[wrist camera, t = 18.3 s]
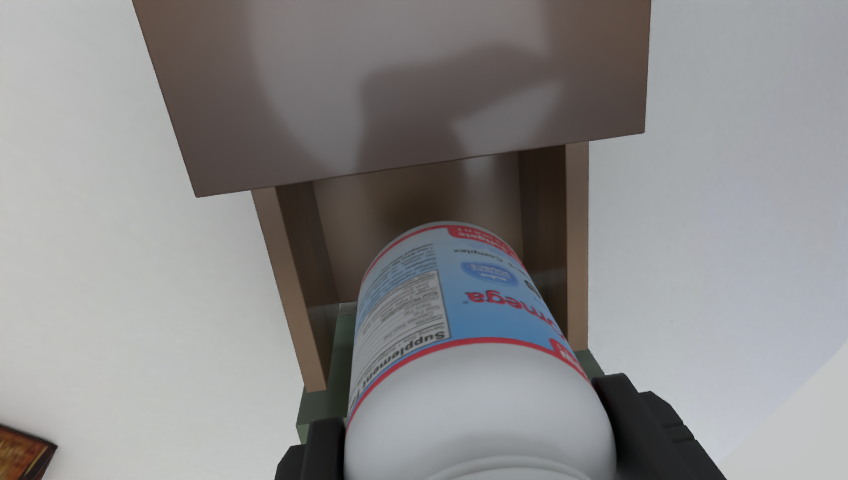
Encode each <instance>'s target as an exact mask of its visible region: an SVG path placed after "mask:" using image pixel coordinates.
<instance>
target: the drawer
mask: <svg viewBox="0 0 848 480" xmlns="http://www.w3.org/2000/svg"><path fill="white" fill-rule="evenodd" d="M588 182H589V141H587V142H580V143H573V144H566V145H559V146H552V147H545V148H538V149H531V150H524V151H517V152H510V153H504V154H497V155H490V156H483V157H476V158H469V159H462V160H455V161H448V162H441V163H434V164H428V165H421V166H414V167H407V168H400V169H393V170H386V171H379V172H372V173H365V174H358V175H352V176H345V177H338V178H331V179H324V180H317V181H310V182H303V183H296V184H289V185H282V186H275V187H269V188H262V189H255V190H251V193H252V196H253V200H254V204H255V207H256V211H257V215H258V218H259V222H260V225H261V229H262V233H263V236H264V240H265V243H266V247H267V251H268V254H269V258H270V262H271V265H272V269H273V272H274V276H275V280H276V283H277V287H278V291H279V294H280V298H281V301H282V305H283V309H284V312H285V316H286V320H287V323H288V327H289V330H290V334H291V338H292V341H293V345H294V348H295V352H296V356H297V359H298V363H299V367H300V370H301V374H302V377H303V381H304V389H303V394H302V398H301V403H300V408H299V413H298V418H297V423H296V428H297V432H298V435H299V438H300V442H301V444H306V441H307V435H308V430H309V424H310V422H311V420H315V419H322V418H328V417H335V416H342V417H343V420H344V423H345V427H346V424H347V413H348V404H349V394H350V383H351V372H352V359H353V348H354V336H355V326H356V315H357V313H355V314H348V315H342V316H337V315H338V308H339V303H345V302H352V301H358V297H359V292H360V287H361V283H362V280H363V277H364V275H365V273H366V271H367V269H368V268H369V266H370V264H371V263H372V261H373V260H374V259H375V257H376V256H377V255H378V254H379V253H380V252H381V250H382V249H383V248H384V247H385V246H387V245H388V244H389V243H390V242H391V241H393V240H394V239H395V238H397V237H398V236H400V235H401V234H403V233H404V232H406V231H408V230H410V229H412V228H415V227H417V226H420V225H423V224H426V223H431V222H436V221H459V222H466V223H470V224H474V225H477V226H480V227H482V228H485V229H487V230H489V231H491V232H492V233H494V234H496V235H497V236H498V237H500V238H501V239H502V240H504V241H505V242H506V243H507V244H508V245H509V246H510V247H511V248H512V250H513V251H514V252H515V253H516V255H517V256H518V258H519V259H520V261H521V262H522V264H523V265H524V267H525V269H526V271H527V273H528V274H529V276H530V278H531V280H532V281H533V283H534V285H535V287H536V289H537V290H538V292H539V294H540V295H541V297H542V299H543V301H544V303H545V304H546V306H547V308H548V309H549V311H550V313H551V315H552V316H553V318H554V320H555V322H556V323H557V325H558V327H559V329H560V330H561V332H562V334H563V336H564V337H565V339H566V341H567V342H568V344H569V346H570V347H571V349H572V351H573V353H574V354H575V356H576V358H577V360H578V362H579V364H580V365H581V367H582V369H583V370H584V372H585V374H586V376H587V378H588V379H589V381H590V383H591V379H592V378H593V377H599V376H605V374H604V372H603V371H602V369H601V368H600V366H599V364H598V363H597V361H596V360H595V358H594V357H593V355H592V354H591V352H590V350H589V349H588Z"/></svg>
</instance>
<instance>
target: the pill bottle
mask: <svg viewBox="0 0 848 480" xmlns="http://www.w3.org/2000/svg"><path fill="white" fill-rule="evenodd" d="M616 462H617V460H616V444H615V438H614V433H613V430H612V427H611V423H610V421H609V418H608V416H607V413H606V411H605V409H604V407H603V405H602V404H601V402H600V399H599V397H598V395H597V393H596V392H595V390H594V388H593V387H592V385H591V383H590V381H589V379H588V378H587V376H586V374H585V372H584V370H583V369H582V367H581V365H580V364H579V362H578V360H577V358H576V356H575V354H574V353H573V351H572V349H571V347H570V346H569V344H568V342H567V341H566V339H565V337H564V336H563V334H562V332H561V330H560V329H559V327H558V325H557V323H556V322H555V320H554V318H553V316H552V315H551V313H550V311H549V309H548V308H547V306H546V304H545V303H544V301H543V299H542V297H541V295H540V294H539V292H538V290H537V289H536V287H535V285H534V283H533V281H532V280H531V278H530V276H529V274H528V273H527V271H526V269H525V267H524V265H523V264H522V262H521V261H520V259H519V258H518V256H517V255H516V253H515V252H514V251H513V250H512V248H511V247H510V246H509V245H508V244H507V243H506V242H505V241H504V240H502V239H501V238H500V237H498V236H497V235H496V234H494V233H492V232H491V231H489V230H487V229H485V228H482V227H480V226H477V225H474V224H470V223H466V222H459V221H436V222H431V223H426V224H423V225H420V226H417V227H415V228H412V229H410V230H408V231H406V232H404V233H403V234H401V235H400V236H398V237H397V238H395V239H394V240H393V241H391V242H390V243H389V244H388V245H387V246H385V247H384V248H383V249H382V250H381V252H380V253H379V254H378V255H377V256H376V257H375V259H374V260H373V261H372V263H371V264H370V266H369V268H368V269H367V271H366V273H365V275H364V277H363V280H362V283H361V287H360V292H359V297H358V306H357V315H356V326H355V336H354V348H353V359H352V372H351V383H350V394H349V404H348V413H347V424H346V434H345V444H344V465H343V475H344V480H615V476H616Z"/></svg>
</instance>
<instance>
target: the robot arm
mask: <svg viewBox="0 0 848 480" xmlns="http://www.w3.org/2000/svg"><path fill="white" fill-rule="evenodd" d="M591 385H592V387H593V388H594V390H595V392H596V393H597V395H598V397H599V399H600V402H601V404H602V405H603V407H604V409H605V411H606V413H607V416H608V418H609V421H610V423H611V427H612V430H613V433H614V438H615V444H616V460H617V462H616V476H615V480H727V479H726V478H725V477H724V475H723V474H722V473H721V471H720V470H719V469H718V467H717V466H716V465H715V463H714V462H713V461H712V459H711V458H710V457H709V455H708V454H707V453H706V451H705V450H704V449H703V448H702V446H701V445H700V444H699V442H698V441H697V440H695V439H694V436H693V434H692V433H691V432H690V430H689V429H688V428H687V426H686V425H684V424H683V421H682V420H681V418H680V417H679V416H678V414H677V413H676V412H675V410H674V409H673V408H672V406H671V405H670V404H669V403H667V402H666V401H664V400H663V399H661V398H660V397H658V396H657V395H656V394H654V393H653V392H651V391H647V392H641V393H638V391H637V390H636V389H635V387H634V386H633V384H632V383H631V381H630V380H629V378H628V377H627V376H626V375H625V374H624V373H618V374H611V375H605V376H599V377H593V378H592V379H591ZM345 434H346V427H345V423H344V420H343V417H342V416H335V417H328V418H322V419H315V420H311V422H310V424H309V430H308V435H307V441H306V444H301V445H295V446H290V448H289V449H288V451H287V452H286V454H285V455H284V457H283V458H282V460H281V461H280V462H279V464H278V466H277V471H276V475H275V479H274V480H344V475H343V465H344V444H345Z"/></svg>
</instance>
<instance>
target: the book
mask: <svg viewBox="0 0 848 480" xmlns="http://www.w3.org/2000/svg"><path fill="white" fill-rule="evenodd" d="M57 447H58V446H56V445H53V444H50V443H47V442H44V441H41V440H38V439H36V438H33V437H30V436H27V435H24V434H21V433H18V432H16V431H13V430H10V429H7V428H4V427H1V426H0V480H41V479H42V477H43V475H44V473H45V471H46V469H47V467H48V465H49V463H50V461H51V459H52V457H53V455H54V453H55V450H56V449H57Z"/></svg>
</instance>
